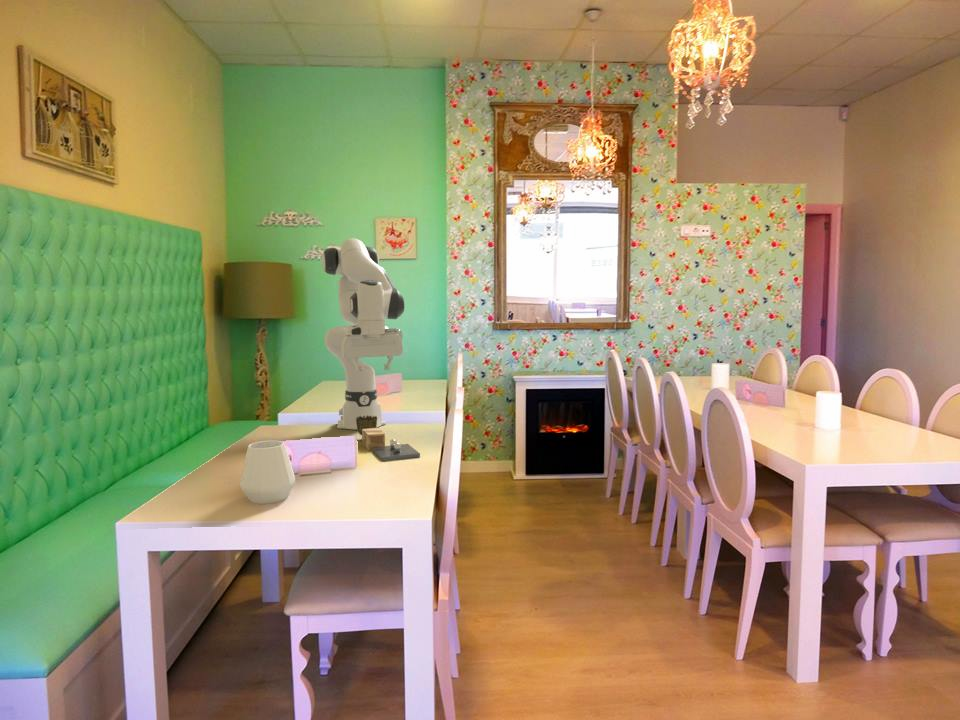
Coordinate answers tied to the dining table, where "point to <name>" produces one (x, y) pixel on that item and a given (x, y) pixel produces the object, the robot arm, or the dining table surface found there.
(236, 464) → the dining table surface
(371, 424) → the cup
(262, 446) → the cream vase
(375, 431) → the block
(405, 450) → the slate base plate
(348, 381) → the robot arm
